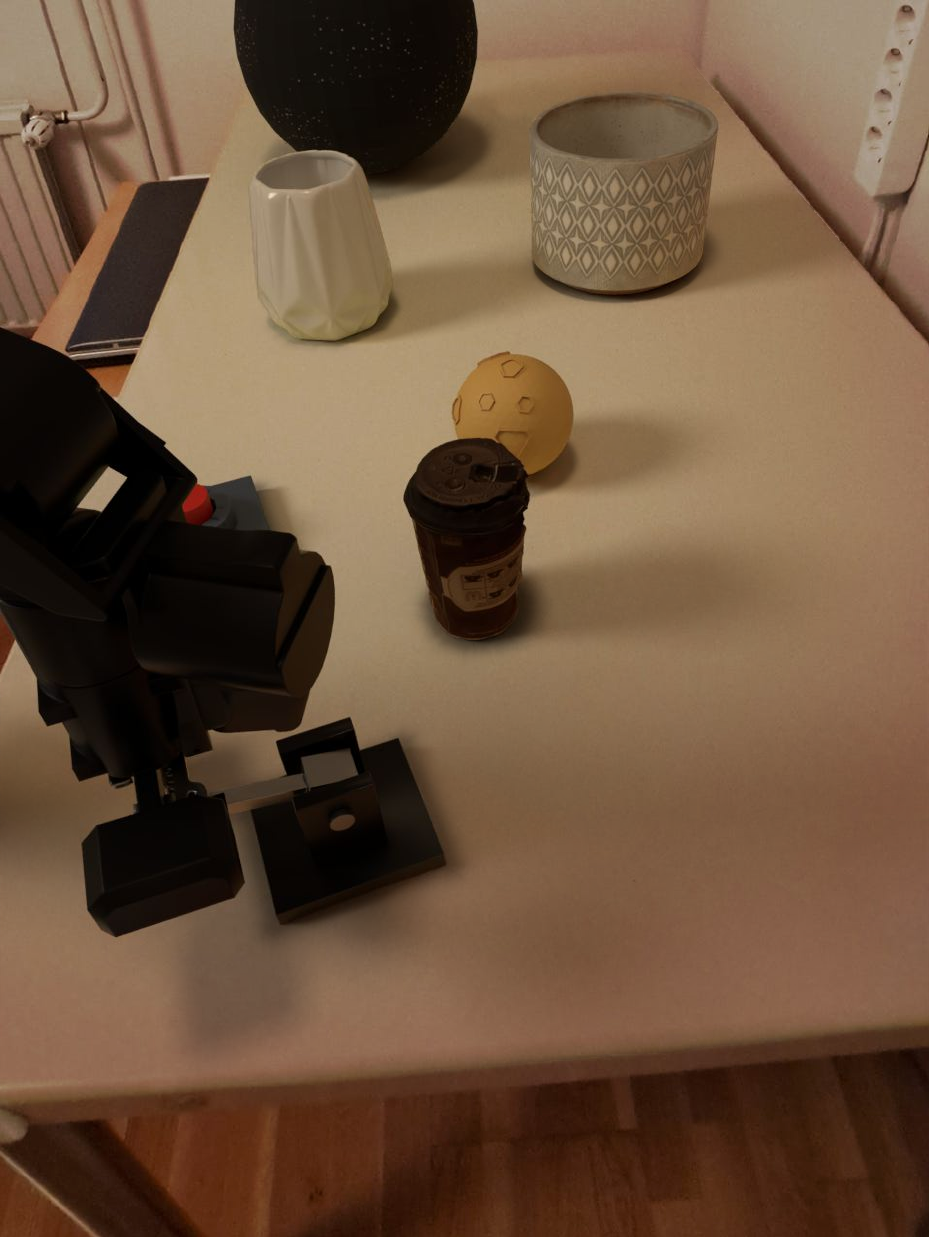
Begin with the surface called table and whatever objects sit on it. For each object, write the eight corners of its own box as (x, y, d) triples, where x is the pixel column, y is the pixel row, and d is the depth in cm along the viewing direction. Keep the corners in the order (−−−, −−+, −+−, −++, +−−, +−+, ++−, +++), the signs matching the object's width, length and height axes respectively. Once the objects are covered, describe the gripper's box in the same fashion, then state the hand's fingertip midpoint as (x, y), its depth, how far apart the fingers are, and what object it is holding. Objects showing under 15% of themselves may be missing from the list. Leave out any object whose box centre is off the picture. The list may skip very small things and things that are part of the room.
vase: (377, 354, 94) (355, 202, 83) (246, 347, 97) (207, 199, 86) (410, 286, 103) (394, 141, 92) (290, 281, 106) (260, 139, 95)
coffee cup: (560, 612, 68) (562, 470, 59) (475, 674, 65) (463, 533, 55) (480, 554, 73) (471, 414, 64) (397, 609, 70) (374, 469, 60)
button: (170, 534, 72) (163, 517, 71) (164, 507, 74) (157, 489, 73) (216, 522, 73) (210, 504, 72) (209, 495, 75) (203, 477, 74)
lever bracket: (280, 925, 53) (250, 861, 48) (249, 798, 59) (220, 729, 54) (446, 864, 55) (435, 797, 50) (400, 748, 61) (386, 676, 56)
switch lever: (180, 868, 49) (177, 842, 47) (166, 786, 53) (163, 759, 51) (365, 826, 52) (367, 801, 51) (340, 751, 56) (341, 725, 54)
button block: (140, 604, 72) (125, 571, 69) (126, 525, 78) (112, 492, 76) (280, 564, 74) (270, 530, 71) (255, 490, 80) (245, 457, 78)
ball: (485, 205, 116) (471, -93, 95) (247, 220, 118) (179, -70, 96) (482, 117, 137) (470, -145, 115) (279, 131, 138) (229, -125, 117)
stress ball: (515, 417, 85) (512, 316, 78) (596, 462, 80) (601, 359, 73) (433, 466, 81) (422, 365, 74) (512, 518, 76) (509, 414, 68)
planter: (728, 244, 105) (748, 105, 95) (655, 319, 95) (668, 174, 85) (581, 213, 113) (585, 82, 103) (500, 280, 103) (494, 142, 93)
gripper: (333, 747, 36) (374, 930, 47) (242, 469, 48) (292, 667, 59) (29, 840, 33) (150, 1010, 45) (15, 522, 46) (113, 719, 57)
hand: (186, 829), depth 51 cm, fingers closed on switch lever, 5 cm apart
